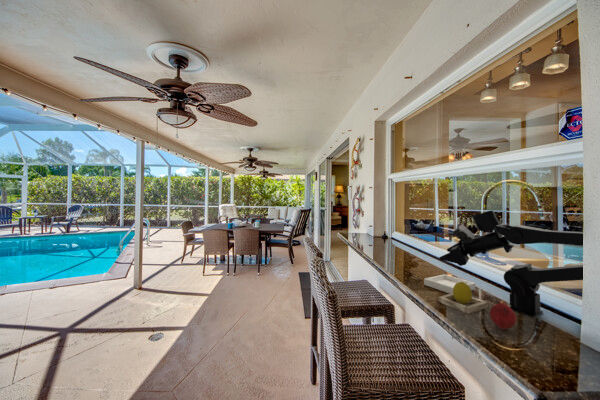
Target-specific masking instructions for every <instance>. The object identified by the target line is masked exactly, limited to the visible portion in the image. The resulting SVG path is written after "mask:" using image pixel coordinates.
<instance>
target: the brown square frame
mask: <svg viewBox="0 0 600 400" xmlns="http://www.w3.org/2000/svg"><path fill="white" fill-rule="evenodd" d="M454 300H456V299H455V298H454V295H453V293H451V294H449V293H447V294H444V295H440V296H438V300H437V301H438V303H441V304H443V305H446V306H448V307H450V308H452V309H455V310H458V311H460V312H462V313H465V314H466V315H470V314H474V313H475V312H478V311H479V312H480V311H482V310H486V309H488V308H489V302H488V301H485V300H483V299H479V298H476V297H474V296H472V299H471V301H470V302H469V303H470V305H465V304H464V305H462V304H461V303H460V302H458V301H454Z"/></svg>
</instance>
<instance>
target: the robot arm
mask: <svg viewBox="0 0 600 400" xmlns="http://www.w3.org/2000/svg"><path fill="white" fill-rule="evenodd" d="M471 218H472V220H473V223H475V226H476V228H477V231H480V232H483V233H486V234H483V235H480V234H474V233H473V232H472V231H471V230H469V229H468V227H466V226H464V224H460V225H458V227H456V228H455V229H454V231H452V234H453V235H454V236H455V237H457V238H458V239H459V241H458V242H456V243H455V244H453V245H452V246H450V247H448V248H447V249H446V251H447V253H445V254H443V255H441V256H439V257H438V258H439V260H440V261H444V262H448V263H453V264H457V265H458V266H459V267H462V266H466V265H467V263H468V262H469V260H470V258H473V257H475V255H480V254H482V255H485V254H487V253H488V252H491V251H495V250H499V249H500V250H501V249H504V251H505V253H506V254H508V253H510V252H512V250H513V248H514V247H515V245H530V244H531V245H533V244H554V245H555V244H557V245H566V246H567V245H569V246H578V247H580V246H581V247H584V246H583V231H567V230H565V231H564V230H549V229H542V228H537V227H533V226H532V227H531V226H527V225H522V224H518V225H514V226H513V225H509V224H505V223H501V222H500V221H499V219H498V217H497V215H496V213H495V211H494V210H492V209H491V210H488V211H485V212H480V213H476V214H475V215H472V216H471ZM488 232H489V233H488ZM583 265H584V264H578V265H577V264H576V265H566V266H555V267H553V266H552V267H546V268H545V267H544V268H537V267H532V263H526V264H515V265H513V266H511V268H510V269H508V270H506V271H505V272H504V273H503V281H504V282H505V284H507V285H508V286H509V288H510V293H509V307H510V308H511V309H512V310H513V311H515V312H518V313H520V314H523V315H526V316H529V317H532V318H533V317H536V316H538V315H541V314H544V310H541V294H540V293H538V291H539V289H540V287H541V285H540V284H542V283H554V282H570V281H571V282H573V281H584V280H583Z"/></svg>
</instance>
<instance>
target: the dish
mask: <svg viewBox="0 0 600 400" xmlns="http://www.w3.org/2000/svg"><path fill="white" fill-rule="evenodd" d="M459 282H464V283H465V284H467V285H468V286H469V287H470V289H471V291H475V290H476V283H475V282H472V281H469V280H465V279H462V278H458V277H455V276H452V275H448V274H445V273H444V274H439V275H435V276H430V277H425V278H424V282H423V283H424V286H427V287H430V288H433V289H436V290H438V291H441V292H444V293H447V294H451V293H453V288H454V286H455V284H457V283H459Z"/></svg>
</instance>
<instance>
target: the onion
mask: <svg viewBox="0 0 600 400" xmlns="http://www.w3.org/2000/svg"><path fill="white" fill-rule="evenodd" d="M489 317H490V320H491V321H492V322H493V324H495V325H496V326H497V327H498V328H500V330H507V329H511V328H512V327H514V326H515V325H516V323H517V314H516V313H515V312H514V310H512V309H511V308H510V305H509V306H508V305H507V304H506V301H505V300H503V299H502V300H500V301H499V303H496V304H495V305H493V306H492V307H490V310H489Z"/></svg>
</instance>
